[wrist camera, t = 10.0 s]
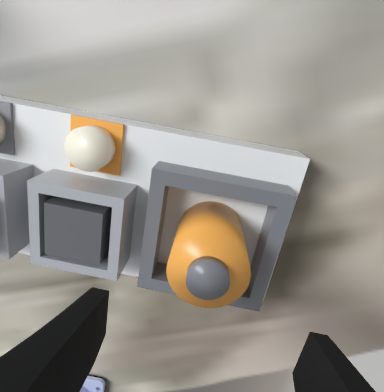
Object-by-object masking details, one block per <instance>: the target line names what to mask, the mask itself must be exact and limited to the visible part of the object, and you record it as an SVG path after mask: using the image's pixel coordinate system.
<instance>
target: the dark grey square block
mask: <svg viewBox="0 0 384 392" xmlns="http://www.w3.org/2000/svg"><path fill="white" fill-rule="evenodd" d="M111 215H112V207H107V206H102V205H97V204H92V203H87V202H82V201H77V200H72V199H66V198H61V197H56V196H54V197H52V198H51V199H49V200H47V201H46V202H44V240H45V254H47V255H52V256H56V257H61V258H66V259H71V260H76V261H81V262H86V263H91V264H96V265H100V264H101V263H102V261H103V260H104V258H105V257H106V255H107V254H108V253H109V242H110V228H111Z"/></svg>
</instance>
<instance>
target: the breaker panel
mask: <svg viewBox="0 0 384 392" xmlns="http://www.w3.org/2000/svg"><path fill="white" fill-rule="evenodd" d="M309 161H310V159H309V158H308V157H306V156H305V155H303V154H302V153H300V152H299V151H296V150H290V149H285V148H280V147H274V146H269V145H264V144H258V143H253V142H248V141H242V140H237V139H232V138H226V137H221V136H216V135H210V134H205V133H200V132H194V131H189V130H184V129H178V128H173V127H168V126H162V125H157V124H151V123H146V122H141V121H135V120H130V119H125V118H119V117H114V116H109V115H103V114H98V113H93V112H87V111H82V110H77V109H71V108H66V107H61V106H55V105H50V104H45V103H39V102H34V101H29V100H23V99H18V98H13V97H7V96H2V95H0V258H5V259H10V258H11V257H13V256H14V255H15V254H17V253H22V254H27V255H30V264H35V265H40V266H45V267H50V268H55V269H60V270H65V271H70V272H75V273H79V274H84V275H89V276H94V277H99V278H104V279H109V280H114V281H117V280H118V278H119V276H120V274H126V275H131V276H136V277H138V285H137V287H141V288H146V289H151V290H156V291H161V292H166V293H171V294H176V293H175V292H174V291H173V290H172V288H171V286H170V285H169V282H168V279H167V273H166V269H167V263H168V259H169V256H170V252H171V249H172V246H173V242H174V239H175V235H176V232H177V228H178V225H179V222H180V219H181V217H182V215H183V214H184V213H185V211H186V210H187V209H189V208H190V207H191V206H193V205H195V204H197V203H200V202H205V201H214V202H219V203H222V204H225V205H227V206H229V207H230V208H231V209H233V210H234V211H235V212H236V214H237V215H238V216H239V218H240V220H241V223H242V227H243V233H244V238H245V243H246V248H247V253H248V259H249V264H250V269H251V278H250V283H249V285H248V288H247V289H246V291H245V292H244V294H243V295H242V296H241V297H240V298H238V299H237V300H236V301H234V302H232V303H230V304H228V305H230V306H235V307H240V308H245V309H250V310H255V311H260V308H261V305H262V302H263V301H264V298H265V295H266V292H267V289H268V286H269V283H270V280H271V277H272V274H273V271H274V268H275V265H276V262H277V258H278V255H279V252H280V249H281V246H282V243H283V240H284V237H285V234H286V231H287V228H288V225H289V222H290V219H291V216H292V213H293V210H294V207H295V204H296V201H297V198H298V195H299V192H300V189H301V186H302V182H303V179H304V176H305V173H306V170H307V167H308V164H309ZM54 196H56V197H61V198H66V199H72V200H77V201H82V202H87V203H92V204H97V205H102V206H107V207H112V215H111V228H110V242H109V253H108V254H107V255H106V257H105V258H104V260H103V261H102V263H101V264H100V265H96V264H91V263H86V262H81V261H76V260H71V259H66V258H61V257H56V256H52V255H47V254H45V240H44V202H46V201H47V200H49V199H51V198H52V197H54ZM176 295H177V294H176Z"/></svg>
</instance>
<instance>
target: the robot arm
mask: <svg viewBox="0 0 384 392" xmlns="http://www.w3.org/2000/svg"><path fill="white" fill-rule="evenodd" d="M108 298H109V291H107V290H102V289H97V288H91V289H89V290H88V291H87V292H86V293H84V294H83V295H82V296H81V297H80V298H78V299H77V300H76V301H75V302H74V303H72V304H71V305H70V306H69V307H67V308H66V309H65V310H64V311H63V312H61V313H60V314H59V315H58V316H56V317H55V318H54V319H52V320H51V321H50V322H48V323H47V324H46V325H45V326H43V327H42V328H41V329H39V330H38V331H37V332H35V333H34V334H33V335H31V336H30V337H28V338H27V339H25V340H24V341H23V342H21V343H20V344H18V345H17V346H16V347H14V348H13V349H11V350H10V351H8V352H7V353H6V354H4V355H3V356H1V357H0V392H104V390H105V381H104V380H103V379H101V378H97V377H93V376H88V374H89V372H90V370H91V368H92V366H93V364H94V362H95V360H96V357H97V355H98V352H99V350H100V347H101V345H102V342H103V339H104V337H105V334H106V322H107V310H108ZM293 380H294V387H295V392H375V390H374V389H373V388H372V387H371V386H370V385H369V384H368V382H367V381H366V380H365V379H364V378H363V376H362V375H361V374H360V373H359V372H358V371H357V369H356V368H355V367H354V366H353V365H352V363H351V362H350V361H349V360H348V359H347V357H346V356H345V355H344V354H343V353H342V351H341V350H340V349H339V348H338V347H337V346H336V344H335V343H334V342H333V341H332V340H331V339H330V338H329V337H328V335H323V334H318V333H313V332H310V333H309V336H308V338H307V340H306V343H305V345H304V347H303V350H302V352H301V354H300V357H299V359H298V361H297V364H296V366H295V368H294V371H293Z"/></svg>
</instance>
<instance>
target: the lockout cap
mask: <svg viewBox="0 0 384 392" xmlns="http://www.w3.org/2000/svg"><path fill="white" fill-rule="evenodd" d="M166 273H167V279H168V282H169V285H170V286H171V288H172V290H173V291H174V292H175V293H176V294H177V295H178V296H179V297H180V298H181V299H183V300H184V301H186V302H188V303H190V304H192V305H195V306H199V307H204V308H217V307H222V306H225V305H228V304H230V303H232V302H234V301H236V300H237V299H238V298H240V297H241V296H242V295H243V294H244V292H245V291H246V289H247V288H248V285H249V283H250V278H251V269H250V264H249V259H248V253H247V248H246V243H245V238H244V233H243V227H242V223H241V220H240V218H239V216H238V215H237V214H236V212H235V211H234V210H233V209H231V208H230V207H229V206H227V205H225V204H222V203H219V202H214V201H205V202H200V203H197V204H195V205H193V206H191V207H190V208H189V209H187V210H186V211H185V213H184V214H183V215H182V217H181V219H180V222H179V225H178V228H177V232H176V235H175V239H174V242H173V246H172V249H171V252H170V256H169V259H168V263H167V269H166Z"/></svg>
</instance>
